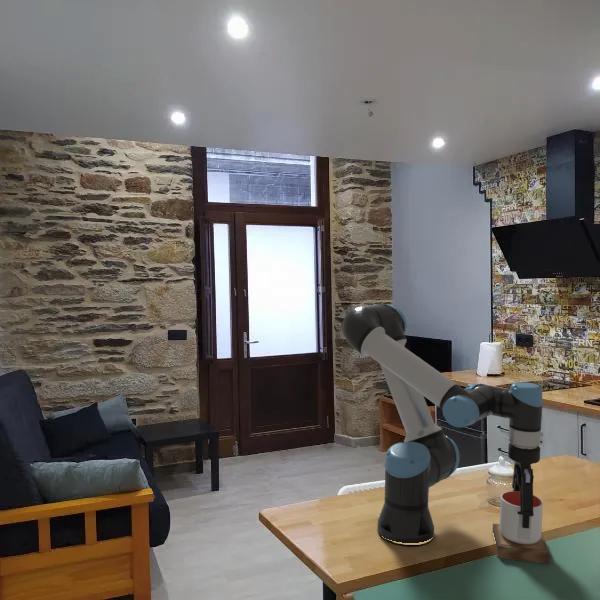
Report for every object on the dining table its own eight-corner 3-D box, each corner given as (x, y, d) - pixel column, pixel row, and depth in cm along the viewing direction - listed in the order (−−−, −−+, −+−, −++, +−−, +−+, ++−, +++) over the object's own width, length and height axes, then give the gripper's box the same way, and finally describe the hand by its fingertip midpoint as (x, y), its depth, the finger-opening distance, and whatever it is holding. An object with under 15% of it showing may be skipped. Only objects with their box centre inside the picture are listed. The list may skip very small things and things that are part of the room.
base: (497, 557, 139) (497, 545, 139) (492, 534, 151) (492, 522, 151) (549, 564, 136) (549, 551, 136) (539, 539, 148) (540, 528, 148)
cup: (545, 548, 138) (547, 509, 137) (502, 544, 139) (504, 505, 139) (536, 529, 147) (538, 492, 146) (496, 525, 149) (498, 489, 148)
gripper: (549, 461, 130) (545, 553, 131) (532, 431, 151) (529, 510, 153) (515, 458, 131) (511, 549, 133) (503, 429, 153) (500, 507, 155)
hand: (520, 528), depth 143 cm, fingers closed on cup, 10 cm apart
